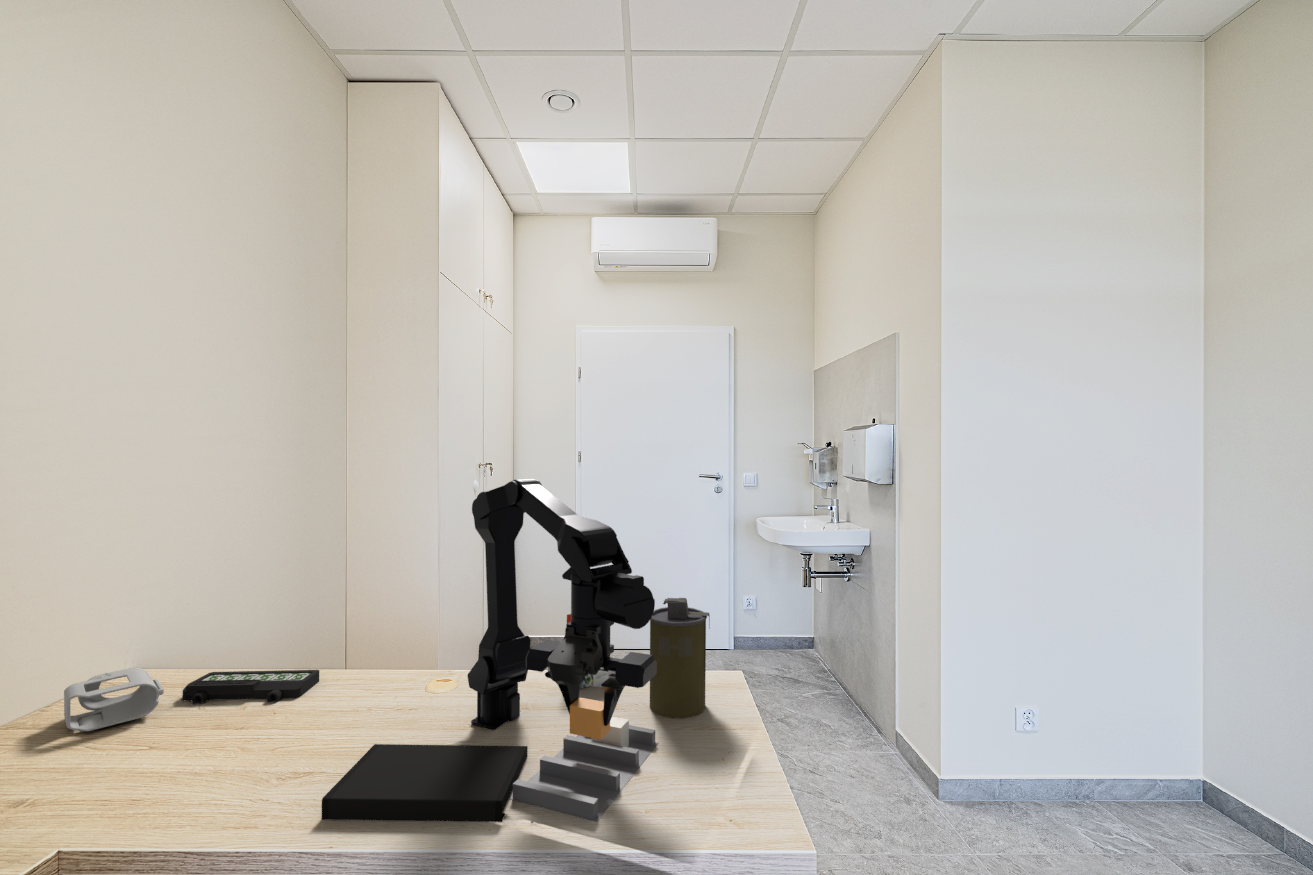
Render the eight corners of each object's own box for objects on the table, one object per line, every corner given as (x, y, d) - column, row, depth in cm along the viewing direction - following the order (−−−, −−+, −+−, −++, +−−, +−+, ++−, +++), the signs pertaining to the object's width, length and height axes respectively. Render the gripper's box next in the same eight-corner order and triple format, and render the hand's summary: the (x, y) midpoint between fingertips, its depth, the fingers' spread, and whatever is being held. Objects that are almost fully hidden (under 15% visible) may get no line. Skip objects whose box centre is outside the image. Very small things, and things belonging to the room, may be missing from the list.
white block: (591, 748, 93) (591, 722, 93) (599, 739, 96) (600, 714, 96) (620, 754, 91) (620, 728, 91) (628, 745, 94) (628, 719, 94)
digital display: (174, 688, 111) (210, 669, 121) (173, 706, 110) (210, 686, 120) (294, 686, 112) (320, 667, 122) (294, 703, 112) (320, 683, 122)
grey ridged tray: (509, 806, 80) (509, 783, 80) (585, 734, 100) (585, 716, 100) (596, 829, 75) (596, 805, 75) (658, 749, 95) (658, 730, 95)
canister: (644, 722, 104) (645, 606, 104) (652, 697, 114) (652, 591, 115) (708, 726, 103) (708, 608, 103) (709, 700, 113) (710, 593, 113)
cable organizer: (62, 680, 105) (67, 700, 97) (154, 660, 114) (166, 677, 106) (63, 718, 105) (67, 741, 97) (154, 695, 114) (166, 715, 106)
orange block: (569, 733, 87) (569, 705, 87) (579, 724, 90) (579, 697, 90) (600, 739, 85) (600, 711, 85) (610, 730, 88) (610, 702, 88)
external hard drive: (501, 825, 77) (501, 801, 77) (321, 822, 77) (321, 798, 77) (527, 765, 91) (527, 745, 91) (374, 763, 91) (374, 743, 91)
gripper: (503, 621, 84) (502, 734, 84) (626, 638, 77) (626, 761, 77) (546, 601, 94) (545, 702, 94) (658, 614, 87) (657, 723, 87)
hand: (590, 721), depth 88 cm, fingers closed on orange block, 5 cm apart
